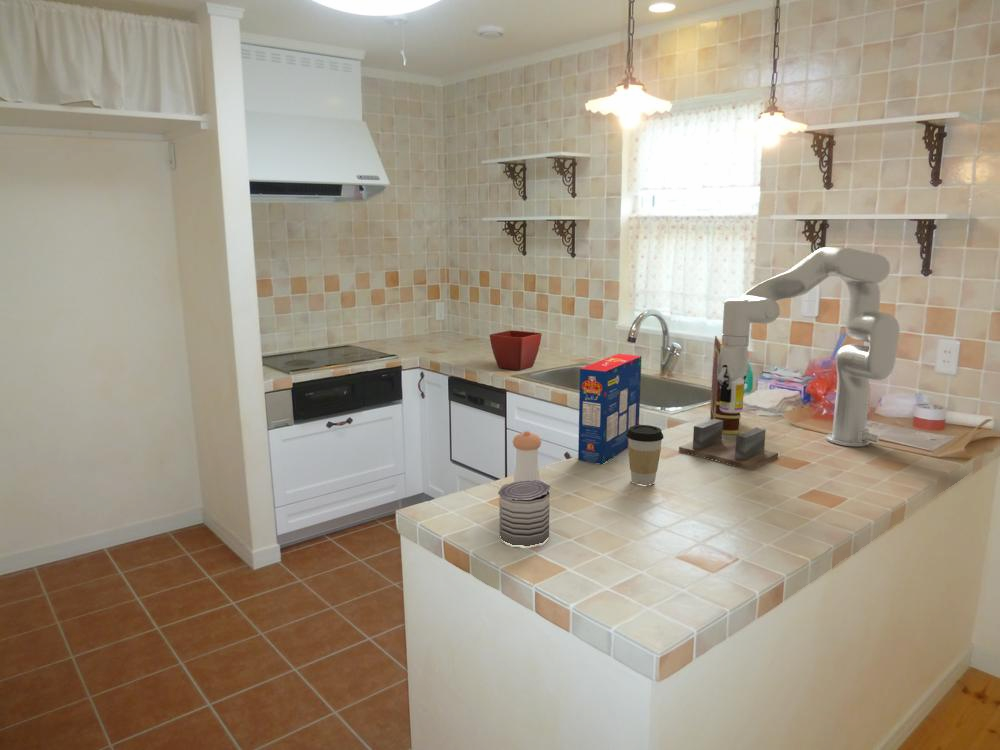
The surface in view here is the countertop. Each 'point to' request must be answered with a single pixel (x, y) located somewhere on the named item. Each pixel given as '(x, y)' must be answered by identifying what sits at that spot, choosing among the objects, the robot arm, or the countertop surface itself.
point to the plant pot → (515, 349)
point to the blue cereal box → (608, 406)
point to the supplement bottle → (734, 397)
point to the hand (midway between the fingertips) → (731, 399)
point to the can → (524, 512)
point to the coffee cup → (644, 452)
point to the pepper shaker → (526, 456)
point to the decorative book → (728, 418)
